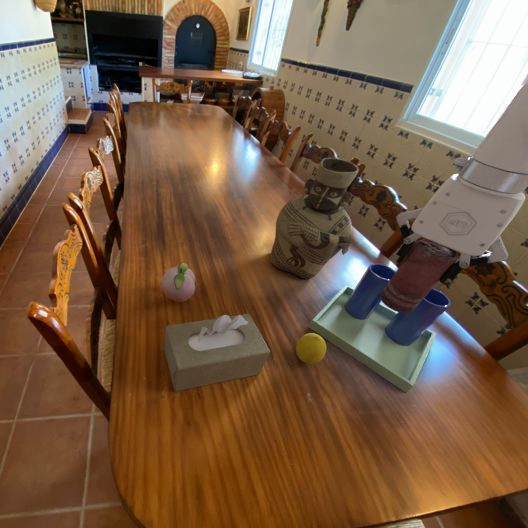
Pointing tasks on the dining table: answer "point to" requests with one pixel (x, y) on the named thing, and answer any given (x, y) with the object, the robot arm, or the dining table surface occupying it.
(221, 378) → the tissue box
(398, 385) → the tray
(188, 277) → the decorative fruit
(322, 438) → the dining table surface
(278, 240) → the ceramic vessel
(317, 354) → the lemon
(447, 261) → the can
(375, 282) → the tumbler
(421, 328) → the tumbler
